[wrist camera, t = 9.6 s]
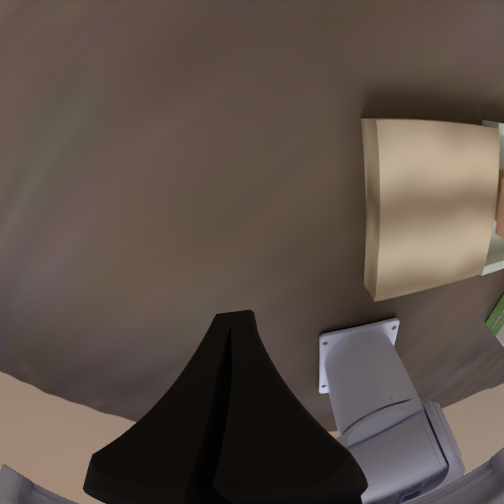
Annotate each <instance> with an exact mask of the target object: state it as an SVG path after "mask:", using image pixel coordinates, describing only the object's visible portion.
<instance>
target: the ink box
mask: <svg viewBox="0 0 504 504" xmlns="http://www.w3.org/2000/svg"><path fill="white" fill-rule="evenodd" d="M485 324H486V325H487V326H488V328H489V329H490V330H491V331H492V332H493V334H494V335H495V336H496V337H497V339H498V340H499V341H500V342H501V344H502V345H503V346H504V294H503V296H502V297H501V299H500V301H499V302H498V304H497V306H496V307H495V309H494V310H493V312H492V313H491V315H490V316H489V318H488V320H487V321H486V323H485Z"/></svg>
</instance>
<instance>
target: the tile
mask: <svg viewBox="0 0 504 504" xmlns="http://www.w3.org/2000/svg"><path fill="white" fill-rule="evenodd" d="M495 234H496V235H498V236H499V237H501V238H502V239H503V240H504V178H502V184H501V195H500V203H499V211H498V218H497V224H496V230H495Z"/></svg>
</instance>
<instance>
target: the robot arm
mask: <svg viewBox="0 0 504 504" xmlns="http://www.w3.org/2000/svg"><path fill="white" fill-rule="evenodd" d="M398 327H399V320H398V318H392V319H388V320H384V321H380V322H376V323H372V324H367V325H363V326H358V327H354V328H349V329H344V330H339V331H334V332H329V333H324V334H322V335H321V336H320V337H319V392H320V393H327V392H329V396H330V400H331V404H332V408H333V413H334V417H335V421H336V425H337V430H338V433H339V435H340V437H338V438H336V439H335V438H334V437H332V436H331V435H330V434H329V433H328V432H327V431H326V430H325V429H324V428H323V427H322V426H321V425H320V424H319V423H318V422H317V421H316V420H315V419H314V418H313V417H312V415H311V414H310V413H309V412H308V411H307V410H306V409H305V408H304V406H303V405H302V404H301V403H300V402H299V401H298V399H297V398H296V397H295V395H294V394H293V393H292V392H291V390H290V389H289V387H288V386H287V385H286V383H285V382H284V380H283V379H282V377H281V376H280V374H279V373H278V371H277V370H276V368H275V366H274V364H273V363H272V361H271V359H270V357H269V355H268V354H267V352H266V349H265V347H264V345H263V343H262V341H261V339H260V336H259V334H258V330H257V325H256V320H255V316H254V312H253V311H252V310H244V311H236V312H228V313H220V314H216V316H215V317H214V319H213V321H212V323H211V325H210V327H209V329H208V331H207V333H206V334H205V336H204V338H203V340H202V342H201V343H200V345H199V347H198V348H197V350H196V352H195V353H194V355H193V357H192V358H191V360H190V361H189V363H188V364H187V366H186V367H185V368H184V370H183V371H182V373H181V374H180V376H179V377H178V378H177V380H176V381H175V382H174V384H173V385H172V386H171V387H170V389H169V390H168V391H167V392H166V393H165V395H164V396H163V397H162V398H161V399H160V400H159V401H158V402H157V403H156V404H155V405H154V407H153V408H152V409H151V410H150V411H149V412H148V413H147V414H146V415H145V416H144V417H142V418H141V419H140V420H139V421H138V422H137V423H136V424H134V425H133V426H132V427H131V428H130V429H129V430H127V431H126V432H125V433H124V434H122V435H121V436H120V437H118V438H117V439H116V440H114V441H113V442H111V443H110V444H108V445H107V446H105V447H104V448H102V449H101V450H99V451H97V452H96V453H94V454H93V455H92V458H91V460H90V463H89V467H88V470H87V475H86V479H85V483H84V486H83V490H84V491H85V493H87V494H88V495H90V496H92V497H93V498H95V499H97V500H99V501H101V502H103V503H106V504H504V448H503V449H501V450H500V451H499V452H498V453H496V454H495V455H494V456H493V457H491V459H490V460H489V461H487V462H485V463H484V464H482V465H481V466H479V467H478V468H476V469H475V470H473V471H471V472H469V473H468V474H466V475H464V473H465V471H466V470H465V467H464V464H463V461H462V459H461V452H460V450H459V447H458V445H457V442H456V440H455V438H454V436H453V433H452V431H451V429H450V426H449V424H448V422H447V420H446V418H445V416H444V413H443V411H442V409H441V407H440V405H439V403H436V402H432V401H428V402H427V403H426V404H425V406H424V405H423V403H422V402H421V400H420V399H419V397H418V395H417V392H416V390H415V388H414V386H413V384H412V382H411V380H410V378H409V376H408V374H407V372H406V370H405V368H404V366H403V364H402V362H401V360H400V358H399V356H398V354H397V352H396V350H395V348H394V344H395V340H396V336H397V331H398ZM323 342H325V343H323ZM0 504H78V503H75V502H73V501H70V500H68V499H66V498H64V497H61V496H59V495H57V494H55V493H52V492H50V491H48V490H46V489H44V488H42V487H40V486H38V485H36V484H35V483H33V482H32V481H30V480H29V479H27V478H26V477H24V476H23V475H21V474H19V473H18V472H16V471H14V470H13V469H11V468H10V467H8V466H6V465H2V468H1V471H0Z"/></svg>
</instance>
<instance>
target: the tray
mask: <svg viewBox="0 0 504 504" xmlns="http://www.w3.org/2000/svg"><path fill="white" fill-rule="evenodd" d="M482 125H483V126H488V127H493V128H497V129H499V138H500V152H499V169H504V124H503V123H498V122H493V121H487V120H482ZM498 183H499V176H498ZM497 194H498V189H497ZM496 203H497V199H496ZM495 211H496V207H495ZM494 218H495V215H494ZM496 224H497V222H496V221H495V220H494V221H493V227H492V233H491V238H490V243H489V248H488V253H487V257H486V261H485V266H484V270H483V273H482V274H480V275H481V276H482V275H485V274H488V273H491V272H494V271H497V270H500V269H503V268H504V240H503V239H502V238H501V237H499V236H498V235H496V234H495V230H496Z"/></svg>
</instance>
